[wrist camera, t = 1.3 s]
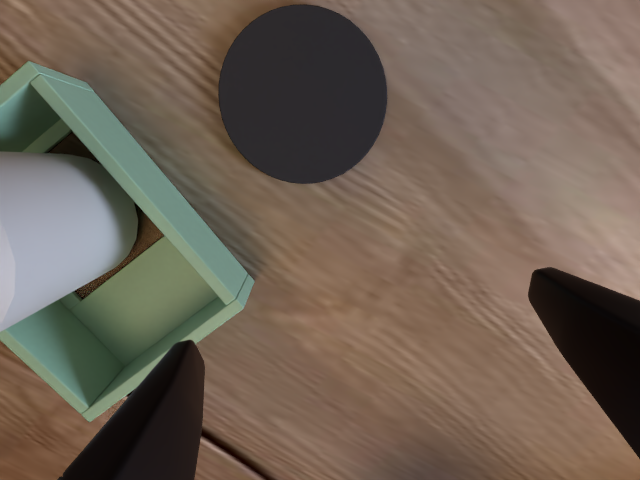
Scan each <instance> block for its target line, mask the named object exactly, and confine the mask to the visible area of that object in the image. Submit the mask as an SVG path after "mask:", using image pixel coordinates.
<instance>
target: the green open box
mask: <svg viewBox="0 0 640 480" xmlns="http://www.w3.org/2000/svg"><path fill="white" fill-rule="evenodd" d="M72 131H73V132H74V134H75V135H76V136H77V137H78V138H79V139H80V140H81V142H82V143H83V144H84V145H85V146H86V147H87V148H88V149H89V151H90V152H91V153H92V154H93V155H94V156H95V157H96V158H97V160H98V161H99V162H100V163H101V164H102V165H103V166H104V168H105V169H106V170H107V171H108V172H109V173H110V174H111V175H112V177H113V178H114V179H115V180H116V181H117V182H118V183H119V185H120V186H121V187H122V188H123V189H124V190H125V191H126V192H127V194H128V195H129V196H130V197H131V198H132V199H133V200H134V202H135V203H136V204H137V205H138V206H139V207H140V208H141V209H142V211H143V212H144V213H145V214H146V215H147V216H148V217H149V219H150V220H151V221H152V222H153V223H154V224H155V225H156V226H157V228H158V229H159V230H160V231H161V232H162V233H163V234H164V235H165V236H163V237H162V238H161V239H160V240H158V241H157V242H156V243H154V244H153V245H152V246H151V247H149V248H148V249H147V250H146V251H144V252H143V253H142V254H140V255H139V256H138V257H137V258H135V259H134V260H133V261H132V262H130V263H129V264H128V265H126V266H125V267H124V268H123V269H121V270H120V271H119V272H117V273H116V274H115V275H114V276H112V277H111V278H110V279H109V280H107V281H106V282H105V283H103V284H102V285H101V286H100V287H98V288H97V289H96V290H95V291H93V292H92V293H91V294H89V295H88V296H87V297H86V298H84V299H83V300H82V299H81V298H80V297H79V295H78V294H77V293H76V292H75V291H73V292H71V293H69V294H67V295H66V296H64V297H62V298H60V299H59V300H57V301H55V302H53V303H51V304H50V305H48V306H46V307H44V308H42V309H41V310H39V311H37V312H35V313H33V314H32V315H30V316H28V317H26V318H25V319H23V320H21V321H19V322H17V323H16V324H14V325H12V326H10V327H8V328H7V329H5V330H3V331H1V332H0V340H1V341H2V342H3V343H4V344H5V345H6V346H7V347H8V348H9V349H10V350H11V351H12V352H14V353H15V354H16V355H17V356H18V357H19V358H20V359H21V360H22V361H23V362H24V363H25V364H27V365H28V366H29V367H30V368H31V369H32V370H33V371H34V372H35V373H36V374H37V375H39V376H40V377H41V378H42V379H43V380H44V381H45V382H46V383H47V384H48V385H49V386H50V387H52V388H53V389H54V390H55V391H56V392H57V393H58V394H59V395H60V396H61V397H62V398H63V399H65V400H66V401H67V402H68V403H69V404H70V405H71V406H72V407H73V408H74V409H75V410H77V411H78V412H79V413H80V414H81V413H82V414H81V415H82V416H83V417H84V418H85V419H86V420H87V421H88V422H91V421H92V420H93V419H95V418H96V417H97V416H99V415H100V414H102V413H103V412H104V411H106V410H107V409H108V408H110V407H111V406H112V405H114V404H115V403H116V402H118V401H119V400H120V399H122V398H123V397H124V396H126V395H127V394H129V393H130V392H131V391H133V390H134V389H135V388H137V387H138V385H139V384H140V383H141V382H142V381H143V380H144V379H145V377H146V376H147V375H148V374H149V373H150V372H151V370H152V369H153V368H154V367H155V366H156V365H157V363H158V362H159V361H160V360H161V359H162V358H163V356H164V355H165V354H166V353H167V352H168V351H169V349H170V348H171V347H172V346H173V345H174V344H175V343H177V342H180V341H185V340H192V341H194V343H195V344H196V343H197V342H199V341H200V340H201V339H203V338H204V337H206V336H207V335H208V334H210V333H211V332H212V331H214V330H215V329H216V328H218V327H219V326H220V325H222V324H223V323H224V322H226V321H227V320H229V319H230V318H231V317H233V316H234V315H235V314H237V313H238V312H239V311H241V310H242V309H243V308H244V306H245V304H246V301H247V299H248V296H249V294H250V291H251V289H252V286H253V284H254V280H253V279H252V277H251V276H250V275H249V274H248V273H247V272H246V270H245V269H244V268H243V267H242V266H241V265H240V263H239V262H238V261H237V260H236V259H235V257H234V256H233V255H232V254H231V253H230V252H229V250H228V249H227V248H226V247H225V246H224V244H223V243H222V242H221V241H220V240H219V239H218V237H217V236H216V235H215V234H214V233H213V231H212V230H211V229H210V228H209V227H208V226H207V224H206V223H205V222H204V221H203V220H202V218H201V217H200V216H199V215H198V214H197V213H196V211H195V210H194V209H193V208H192V207H191V205H190V204H189V203H188V202H187V201H186V199H185V198H184V197H183V196H182V195H181V194H180V192H179V191H178V190H177V189H176V188H175V186H174V185H173V184H172V183H171V182H170V181H169V179H168V178H167V177H166V176H165V175H164V173H163V172H162V171H161V170H160V169H159V168H158V166H157V165H156V164H155V163H154V162H153V160H152V159H151V158H150V157H149V156H148V155H147V153H146V152H145V151H144V150H143V149H142V147H141V146H140V145H139V144H138V143H137V142H136V140H135V139H134V138H133V137H132V136H131V134H130V133H129V132H128V131H127V130H126V129H125V127H124V126H123V125H122V124H121V123H120V121H119V120H118V119H117V118H116V117H115V116H114V114H113V113H112V112H111V111H110V110H109V108H108V107H107V106H106V105H105V104H104V103H103V101H102V100H101V99H100V98H99V97H98V95H97V94H96V93H94V91H93V89H92V88H91V87H90V86H89V85H88V84H87V83H86V82H84V81H81V80H78V79H76V78H73V77H70V76H68V75H65V74H62V73H60V72H57V71H55V70H52V69H49V68H47V67H44V66H41V65H39V64H36V63H33V62H31V61H27V62H26V63H25V64H24V65H23V66H22V67H21V68H19V69H18V70H17V71H16V72H15V73H14V74H13V75H12V76H10V77H9V78H8V79H7V80H6V81H5V82H4V83H2V84H1V85H0V151H2V152H27V153H47V152H49V151H50V150H51V149H52V148H53V147H54V146H56V145H57V144H58V143H59V142H60V141H62V140H63V139H64V138H65V137H66V136H68V135H69V134H70V133H71V132H72Z"/></svg>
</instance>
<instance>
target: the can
mask: <svg viewBox="0 0 640 480" xmlns="http://www.w3.org/2000/svg"><path fill="white" fill-rule="evenodd" d="M137 227H138V218H137V213H136V209H135V204H134V201H133V199H132V198H131V197H130V196H129V195H128V194H127V192H126V191H125V190H124V189H123V188H122V187H121V186H120V185H119V183H118V182H117V181H116V180H115V179H114V178H113V177H112V175H111V174H110V173H109V172H108V171H107V170H106V169H105V168H104V166H102V165H100V164H98V163H97V162H95V161H93V160H91V159H89V158H84V157H79V156H74V155H70V154H52V153H27V152H2V151H0V332H1V331H3V330H5V329H7V328H8V327H10V326H12V325H14V324H16V323H17V322H19V321H21V320H23V319H25V318H26V317H28V316H30V315H32V314H33V313H35V312H37V311H39V310H41V309H42V308H44V307H46V306H48V305H50V304H51V303H53V302H55V301H57V300H59V299H60V298H62V297H64V296H66V295H67V294H69V293H71V292H73V291H75V290H76V289H78V288H80V287H82V286H84V285H85V284H87V283H89V282H91V281H93V280H94V279H96V278H98V277H100V276H101V275H103V274H105V273H107V272H109V271H110V270H112V269H114V268H116V267H117V266H118V265H119V264H120V263H121V262H122V261H123V260H124V259H125V258H126V257H127V256H128V255H129V253H130V251H131V249H132V247H133V245H134V243H135V241H136V237H137Z"/></svg>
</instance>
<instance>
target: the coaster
mask: <svg viewBox="0 0 640 480" xmlns="http://www.w3.org/2000/svg"><path fill="white" fill-rule="evenodd" d="M219 105H220V111H221V116H222V120H223V122H224V125H225V128H226V130H227V132H228V135H229V137H230V139H231V140H232V142H233V143H234V145H235V146H236V148H237V149H238V151H239V152H240V153H241V154H242V155H243V156H244V158H245V159H247V160H248V161H249V162H250V163H251V164H252V165H253V166H255V167H256V168H257V169H259V170H260V171H262V172H264V173H266V174H267V175H269V176H271V177H274V178H277V179H279V180H282V181H287V182H291V183H301V184H306V183H317V182H323V181H326V180H329V179H332V178H335V177H337V176H339V175H341V174H343V173H345V172H346V171H348V170H349V169H351V168H352V167H354V166H355V165H356V164H357V163H358V162H359V161H360V160H361V159H362V158H363V157H364V156H365V155H366V154H367V153H368V151H369V150H370V149H371V147H372V146H373V144H374V142H375V141H376V139H377V137H378V135H379V132H380V130H381V127H382V125H383V121H384V117H385V113H386V105H387V87H386V79H385V74H384V70H383V67H382V64H381V61H380V59H379V56H378V54H377V53H376V51H375V49H374V47H373V45H372V44H371V42H370V41H369V40H368V38H367V37H366V36H365V35H364V33H363V32H362V31H361V30H360V29H359V28H358V27H357V26H356V25H354V24H353V23H352V22H351V21H349V20H348V19H346V18H345V17H343V16H342V15H340V14H338V13H336V12H333V11H331V10H329V9H326V8H322V7H318V6H312V5H290V6H284V7H280V8H277V9H274V10H271V11H269V12H267V13H265V14H263V15H261V16H260V17H258V18H257V19H255V20H254V21H252V22H251V23H250V24H249V25H248V26H247V27H246V28H244V29H243V30H242V32H241V33H240V34H239V35H238V36H237V38H236V39H235V40H234V42H233V44H232V45H231V47H230V49H229V51H228V53H227V55H226V57H225V60H224V63H223V66H222V69H221V74H220V80H219Z"/></svg>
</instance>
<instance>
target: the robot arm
mask: <svg viewBox="0 0 640 480" xmlns="http://www.w3.org/2000/svg"><path fill="white" fill-rule="evenodd" d="M528 297H529V301H530V303H531V305H532V306H533V308H534V310H535V311H536V313H537V315H538V316H539V318H540V320H541V321H542V323H543V325H544V326H545V328H546V330H547V331H548V333H549V335H550V336H551V338H552V340H553V341H554V343H555V345H556V346H557V348H558V349H559V351H560V352H561V354H562V355H563V357H564V358H565V360H566V361H567V362H568V364H569V365H570V366H571V368H572V369H573V370H574V372H575V373H576V374H577V376H578V377H579V378H580V380H581V381H582V382H583V384H584V385H585V386H586V388H587V389H588V390H589V392H590V393H591V394H592V396H593V397H594V398H595V400H596V401H597V402H598V404H599V405H600V406H601V408H602V409H603V410H604V412H605V413H606V414H607V416H608V417H609V418H610V420H611V421H612V422H613V424H614V425H615V426H616V428H617V429H618V430H619V432H620V433H621V434H622V436H623V437H624V439H625V440H626V441H627V443H628V444H629V445H630V447H631V448H632V449H633V451H634V452H635V453H636V455H637V456H638V457H639V459H640V301H639V300H637V299H634V298H631V297H629V296H626V295H623V294H621V293H618V292H616V291H613V290H610V289H608V288H605V287H602V286H600V285H597V284H595V283H592V282H589V281H587V280H584V279H581V278H579V277H576V276H574V275H571V274H568V273H566V272H563V271H560V270H558V269H555V268H552V267H547V268H542V269H537V270H535V271H534V272H533V273H532V277H531V282H530V287H529V292H528ZM204 376H205V365H204V360H203V358H202V356H201V354H200V352H199V350H198V348H197V346H196V345H195V343H194V341H192V340H185V341H180V342H177V343H175V344H174V345H173V346H172V347H171V348H170V349H169V351H168V352H167V353H166V354H165V355H164V356H163V358H162V359H161V360H160V361H159V362H158V363H157V365H156V366H155V367H154V368H153V369H152V370H151V372H150V373H149V374H148V375H147V376H146V377H145V379H144V380H143V381H142V382H141V383H140V384H139V385H138V387H137V388H136V389H135V390H134V391H133V392H132V394H131V395H130V396H129V397H128V398H127V399H126V401H125V402H124V403H123V404H122V405H121V406H120V408H119V409H118V410H117V411H116V412H115V413H114V415H113V416H112V417H111V418H110V419H109V420H108V422H107V423H106V424H105V425H104V426H103V427H102V429H101V430H100V431H99V432H98V433H97V434H96V436H95V437H94V438H93V439H92V440H91V441H90V443H89V444H88V445H87V446H86V447H85V448H84V450H83V451H82V452H81V453H80V454H79V455H78V457H77V458H76V459H75V460H74V461H73V462H72V463H71V465H70V466H69V467H68V468H67V469H66V470H65V472H64V473H63V477H59V478H58V480H194V477H195V470H196V464H197V457H198V451H199V444H200V438H201V431H202V420H203V399H204Z"/></svg>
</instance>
